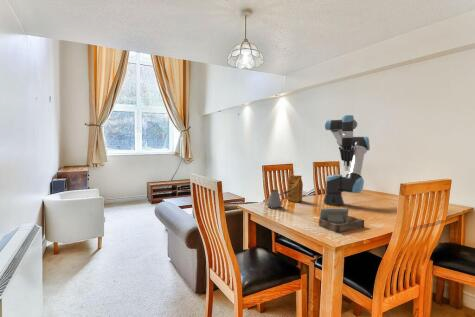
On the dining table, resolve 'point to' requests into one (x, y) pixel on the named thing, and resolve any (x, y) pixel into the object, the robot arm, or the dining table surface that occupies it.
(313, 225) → the dining table surface
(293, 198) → the coffee package
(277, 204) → the coffee pot
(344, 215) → the digital clock
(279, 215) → the dining table surface
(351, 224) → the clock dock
